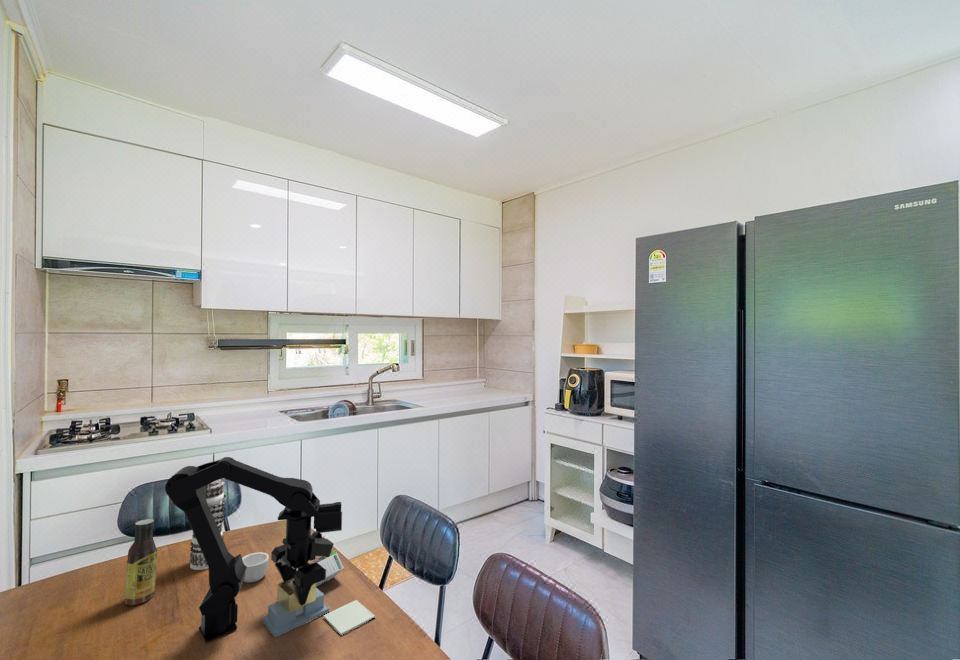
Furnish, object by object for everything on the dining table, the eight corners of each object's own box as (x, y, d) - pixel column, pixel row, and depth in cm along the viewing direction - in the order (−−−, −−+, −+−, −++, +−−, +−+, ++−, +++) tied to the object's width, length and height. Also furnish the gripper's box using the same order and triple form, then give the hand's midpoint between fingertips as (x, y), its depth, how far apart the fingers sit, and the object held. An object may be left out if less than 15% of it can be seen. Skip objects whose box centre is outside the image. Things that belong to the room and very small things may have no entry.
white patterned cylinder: (191, 558, 131) (193, 477, 132) (225, 552, 135) (228, 473, 136) (185, 573, 123) (187, 486, 124) (222, 566, 127) (224, 482, 128)
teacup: (258, 586, 117) (259, 567, 117) (231, 585, 118) (232, 566, 118) (277, 567, 127) (277, 549, 127) (252, 566, 128) (252, 548, 128)
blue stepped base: (275, 637, 98) (276, 600, 98) (262, 621, 103) (263, 585, 103) (330, 611, 107) (331, 577, 107) (315, 597, 113) (316, 565, 113)
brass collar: (288, 612, 100) (289, 595, 100) (277, 600, 105) (277, 584, 105) (315, 600, 105) (316, 583, 105) (303, 589, 110) (303, 573, 110)
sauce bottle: (137, 608, 107) (140, 529, 107) (117, 605, 108) (120, 526, 109) (161, 593, 113) (164, 518, 114) (142, 590, 115) (145, 516, 115)
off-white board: (341, 636, 98) (341, 633, 98) (323, 617, 105) (323, 615, 105) (375, 618, 105) (375, 615, 105) (356, 602, 111) (356, 599, 111)
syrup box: (344, 568, 120) (298, 592, 108) (334, 577, 123) (288, 602, 111) (336, 549, 123) (290, 571, 111) (326, 559, 125) (279, 581, 113)
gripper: (347, 536, 105) (345, 601, 104) (313, 514, 118) (312, 571, 117) (302, 552, 97) (300, 622, 96) (271, 526, 110) (269, 587, 109)
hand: (296, 598), depth 105 cm, fingers closed on brass collar, 7 cm apart
